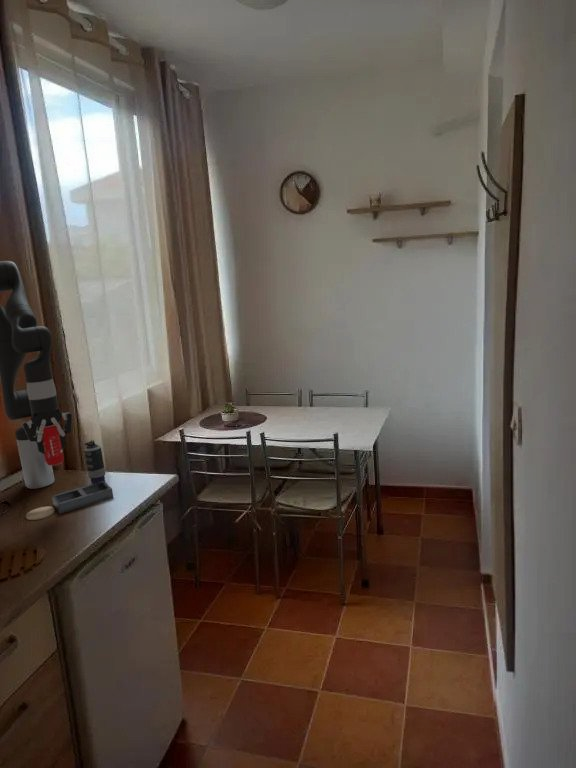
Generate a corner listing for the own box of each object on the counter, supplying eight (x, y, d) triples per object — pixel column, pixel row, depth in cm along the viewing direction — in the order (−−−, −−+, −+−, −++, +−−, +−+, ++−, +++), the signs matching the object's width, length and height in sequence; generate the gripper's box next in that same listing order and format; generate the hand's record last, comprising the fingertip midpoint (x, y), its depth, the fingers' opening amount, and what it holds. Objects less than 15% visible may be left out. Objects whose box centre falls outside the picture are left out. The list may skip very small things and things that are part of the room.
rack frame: (53, 504, 168) (51, 495, 167) (105, 489, 176) (103, 480, 176) (59, 513, 160) (58, 504, 160) (113, 497, 169) (112, 488, 168)
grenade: (101, 486, 180) (94, 443, 177) (82, 486, 181) (75, 443, 178) (109, 479, 185) (102, 438, 182) (91, 480, 186) (84, 438, 183)
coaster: (24, 514, 163) (23, 512, 163) (52, 505, 167) (51, 504, 167) (28, 522, 156) (28, 520, 156) (57, 513, 161) (57, 512, 160)
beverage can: (58, 465, 159) (51, 426, 157) (42, 466, 160) (35, 427, 158) (67, 459, 164) (61, 421, 162) (52, 459, 165) (45, 422, 163)
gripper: (64, 388, 165) (74, 441, 169) (13, 398, 157) (24, 454, 161) (71, 392, 159) (80, 447, 162) (18, 402, 151) (29, 460, 155)
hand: (52, 450), depth 162 cm, fingers closed on beverage can, 5 cm apart
